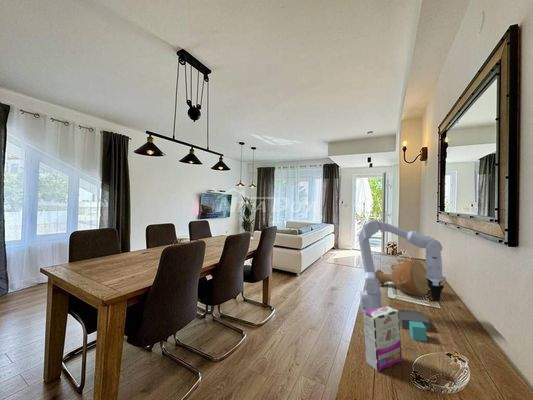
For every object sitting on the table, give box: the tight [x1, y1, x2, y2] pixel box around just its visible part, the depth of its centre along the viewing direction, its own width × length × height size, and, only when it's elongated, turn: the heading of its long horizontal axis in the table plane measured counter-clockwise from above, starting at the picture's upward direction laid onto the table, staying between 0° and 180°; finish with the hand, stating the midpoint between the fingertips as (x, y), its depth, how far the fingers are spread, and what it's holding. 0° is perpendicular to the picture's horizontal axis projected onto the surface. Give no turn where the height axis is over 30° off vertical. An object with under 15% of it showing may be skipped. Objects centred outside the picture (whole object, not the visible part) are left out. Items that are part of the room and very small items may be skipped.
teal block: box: [408, 321, 428, 342], centre depth 89 cm, size 4×4×5 cm
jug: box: [375, 260, 430, 297], centre depth 137 cm, size 20×19×30 cm
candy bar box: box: [362, 305, 403, 372], centre depth 75 cm, size 11×5×16 cm, turn 114°
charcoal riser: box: [396, 309, 431, 332], centre depth 99 cm, size 10×10×4 cm
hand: (435, 297), depth 101 cm, fingers open, 7 cm apart
